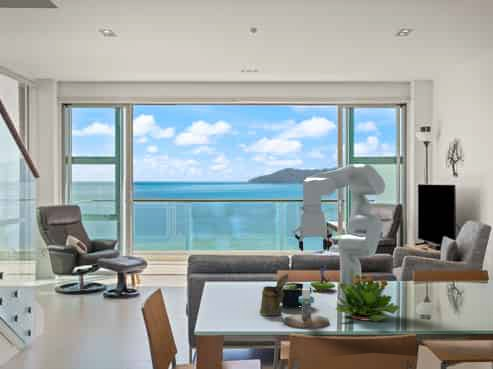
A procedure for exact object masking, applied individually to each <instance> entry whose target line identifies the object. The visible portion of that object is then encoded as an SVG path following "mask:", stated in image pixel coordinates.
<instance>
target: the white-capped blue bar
mask: <svg viewBox="0 0 493 369" xmlns="http://www.w3.org/2000/svg"><path fill="white" fill-rule="evenodd" d="M302 284H303V289H302V296H300V297H299V303H304V304H310V303H311V304H313V303H315V297H314V296H311V294H310V287H311V285H310V284H311V283H302Z"/></svg>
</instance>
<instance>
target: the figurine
mask: <svg viewBox="0 0 493 369" xmlns="http://www.w3.org/2000/svg"><path fill="white" fill-rule="evenodd" d="M324 261H325V260H323V259H321V260H319V266H318V267H319V269H320V270H319V273H317V272H315V275H320V279H321V280H317V281H312V282H310V283H309V284H310V287H311V288H314V289H315V290H316V291H320V290H321V291H320V292H322V290H323V291H326V290H330V289H333V288H336V285H335V284H334V283H332V282H329V281H330V279H329V278H327V279H326V277H325V276H324V272H325V270H326V267H328V265H326V264H324Z"/></svg>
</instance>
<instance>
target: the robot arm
mask: <svg viewBox="0 0 493 369" xmlns="http://www.w3.org/2000/svg"><path fill="white" fill-rule="evenodd" d="M347 186H348V189H349V191H350V194H351V198H352V208H351V212H350V214H349V218H348V221H347V225H346V226H347V227H346V228H347V231H348V232H349V233H350V234H344V235H342V236H340V237H339V239H338V242H337V249H338V250H337V251H338V254H339V286H340V284H341V283H343V284H344V283H345V284H346V285H351V287H352V285H354V286H355V285H356V284H354V283H353V280H355V275H360V277H361V276H362V264H361V261H360V259H359V257H360V258H371V257H374V255H375V254H376V252H377V248H378V245H379V242H380V237H381V235H382V231H383V222H382V219H381V218H380V216H378V215H377V214H371V211H372V205H371V203H370V200H369V199H368V197H367V196H380V195H382V194H383V193H384V191H385V189H386V184H385V181H384V179H383V177H382V176H381V174H379V172H378V171H377V170H376V168H374V167H373V165H370V164H368V163H350V164H347V165H344V166H343V167H340V168H338V169H334V170H331V171H330V170H329V171H326V172H321V173H317V174H314V175H311V176H308V177H307V178H306V179H304V180H303V181H302V206H299V210H300V211H302V212H301V216H300V223H299V224H300V226H298V227H296V228H295V229H293V230H291V233H292V234H293V237H294V238H295V239H297V241H298V250H300V251H301V252H303V251H304V241H303V240H304V239H305V238H315V237H318V238H319V237H321V238H323V239H322V249H323V250H324V251H326V250H327V248H328V240H329V239H330V238H331V237H332V235H333V234H334V229H333V228H331V227H329V226H327V225H326V217H325V212H324V211H323V210H322V209H323V208H322V196H324V197H329V196H332V195H333V194H334V193H335V192H336V190H339V189H344V188H346V187H347ZM327 231H328V233H327ZM298 232H300V235H298V234H297V233H298ZM358 278H359V277H358ZM360 280H361V281H362V279H361V278H360ZM360 284H362V283H360ZM340 287H341V286H340ZM340 287H339V297H340V298H341V299H342V300H344V301H345V302H346V297H345V293H344V292H343V289H342V288H340ZM356 287H357V286H355V288H356ZM336 305H339V306H340V307H341V306H342V307H345V306H344V305H343V304H342V303H341V302H340V301H339V299H337V300H336Z"/></svg>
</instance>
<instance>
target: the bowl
mask: <svg viewBox="0 0 493 369" xmlns="http://www.w3.org/2000/svg"><path fill="white" fill-rule="evenodd" d="M276 286H277V285H275V286H274V287H276ZM282 289H283V293H284V295H283V299H282V301H281V303H280V304H282V306H283V307H284V306H287V307H299V306H302V303H299V297H300V296H302V289H303V283H299V282H289V283H288V282H286V283H285V284H284V285H283V286H282ZM311 294H312V286H310V295H311ZM278 296H279V297H280V294H279V295H278ZM287 307H286V308H287ZM299 308H300V307H299Z"/></svg>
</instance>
